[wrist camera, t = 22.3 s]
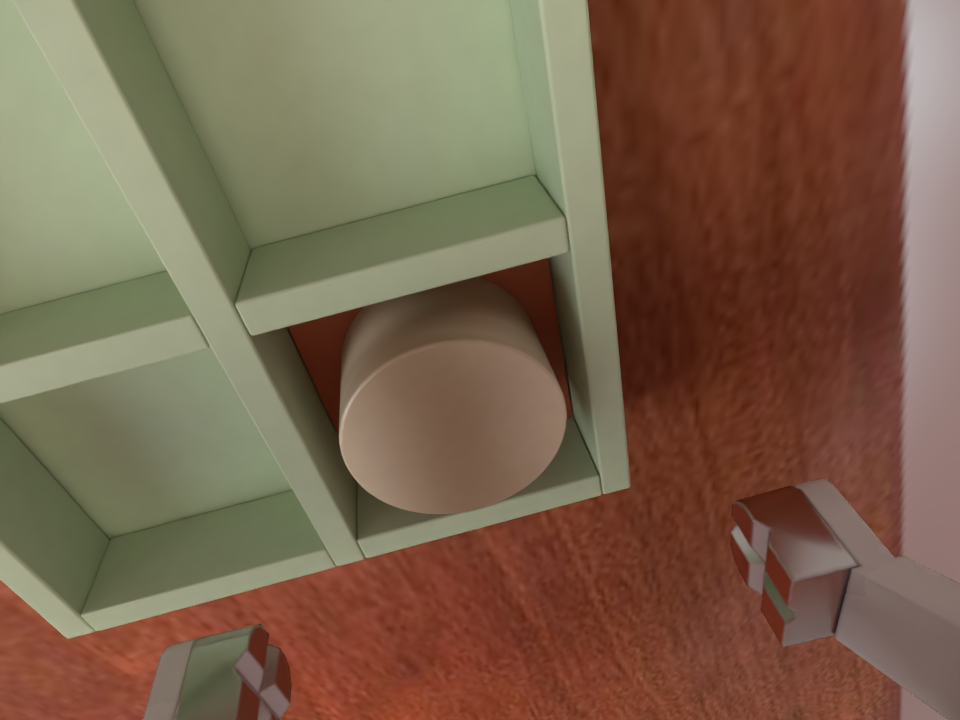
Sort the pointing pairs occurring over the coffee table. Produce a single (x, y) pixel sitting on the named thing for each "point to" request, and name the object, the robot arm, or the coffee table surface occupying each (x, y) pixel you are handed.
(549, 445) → the cylinder
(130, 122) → the grid
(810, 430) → the coffee table surface
